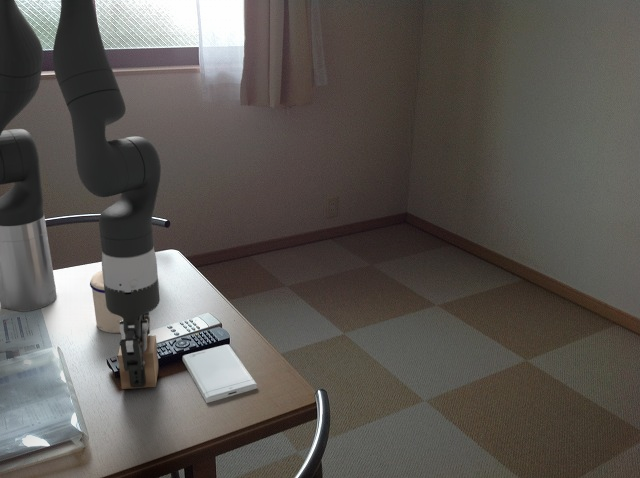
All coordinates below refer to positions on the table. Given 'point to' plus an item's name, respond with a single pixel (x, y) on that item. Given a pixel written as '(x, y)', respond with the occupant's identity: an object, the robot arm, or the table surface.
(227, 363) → the hard drive
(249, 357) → the table surface
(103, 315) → the teacup with lid
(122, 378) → the tan block
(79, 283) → the table surface
